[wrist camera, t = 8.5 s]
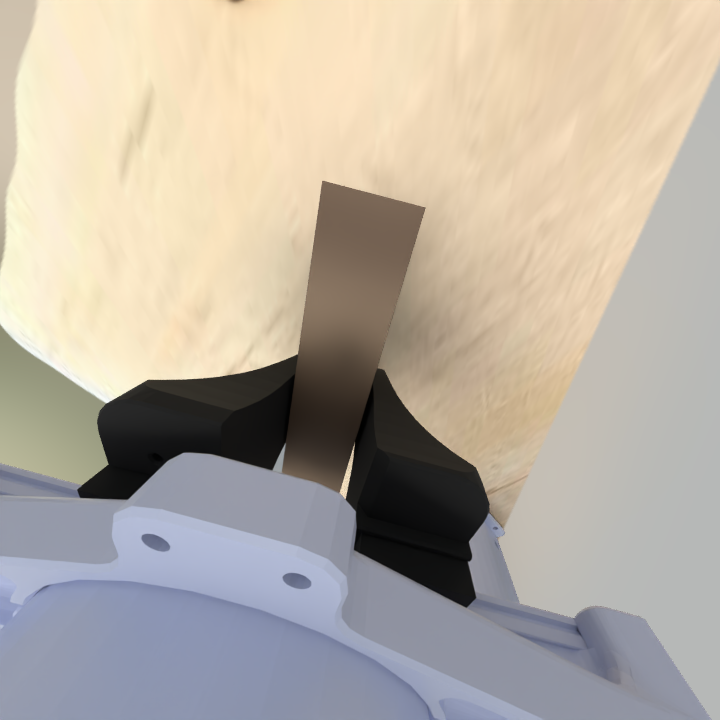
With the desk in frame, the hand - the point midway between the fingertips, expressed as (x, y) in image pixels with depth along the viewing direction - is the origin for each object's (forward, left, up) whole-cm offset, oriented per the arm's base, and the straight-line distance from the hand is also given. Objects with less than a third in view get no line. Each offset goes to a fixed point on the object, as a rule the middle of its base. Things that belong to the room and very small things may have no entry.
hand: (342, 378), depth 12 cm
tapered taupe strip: (0, 0, -2) cm, 2 cm away
